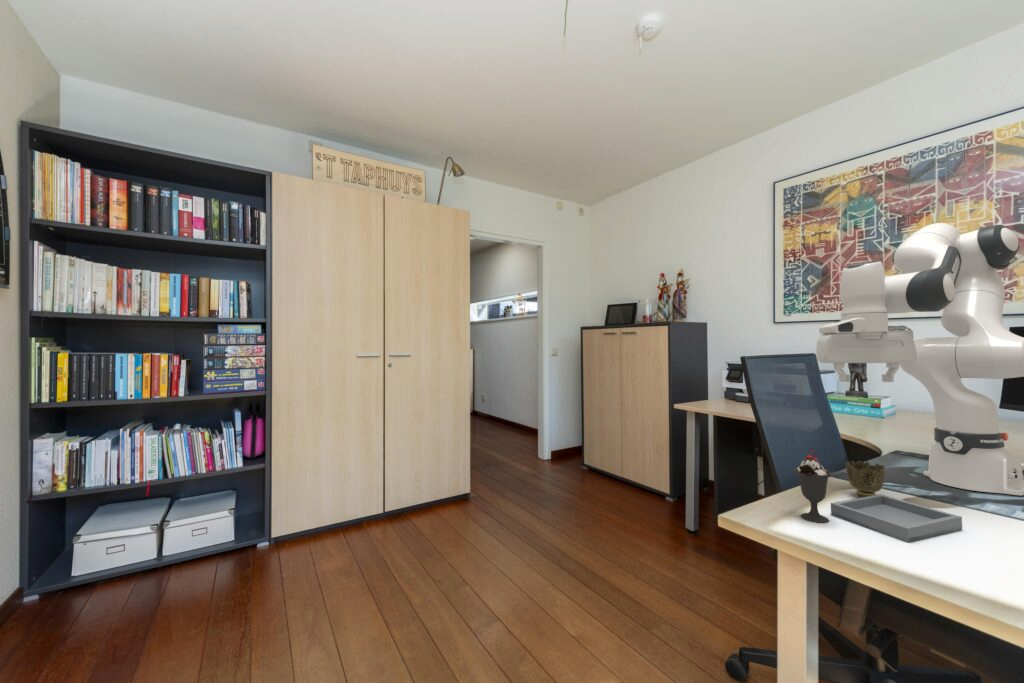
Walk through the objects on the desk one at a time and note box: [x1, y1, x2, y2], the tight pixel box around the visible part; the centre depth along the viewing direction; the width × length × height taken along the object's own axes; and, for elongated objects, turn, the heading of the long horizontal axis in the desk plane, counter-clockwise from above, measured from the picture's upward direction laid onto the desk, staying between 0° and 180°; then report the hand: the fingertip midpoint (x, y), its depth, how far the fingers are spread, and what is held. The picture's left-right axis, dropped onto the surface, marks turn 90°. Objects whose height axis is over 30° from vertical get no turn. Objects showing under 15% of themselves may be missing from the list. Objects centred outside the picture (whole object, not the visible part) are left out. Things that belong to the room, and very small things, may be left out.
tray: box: [830, 493, 963, 544], centre depth 86 cm, size 16×14×3 cm
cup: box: [844, 460, 886, 498], centre depth 100 cm, size 8×7×8 cm
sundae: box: [793, 446, 833, 524], centre depth 89 cm, size 7×7×15 cm
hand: (866, 381), depth 101 cm, fingers open, 8 cm apart
